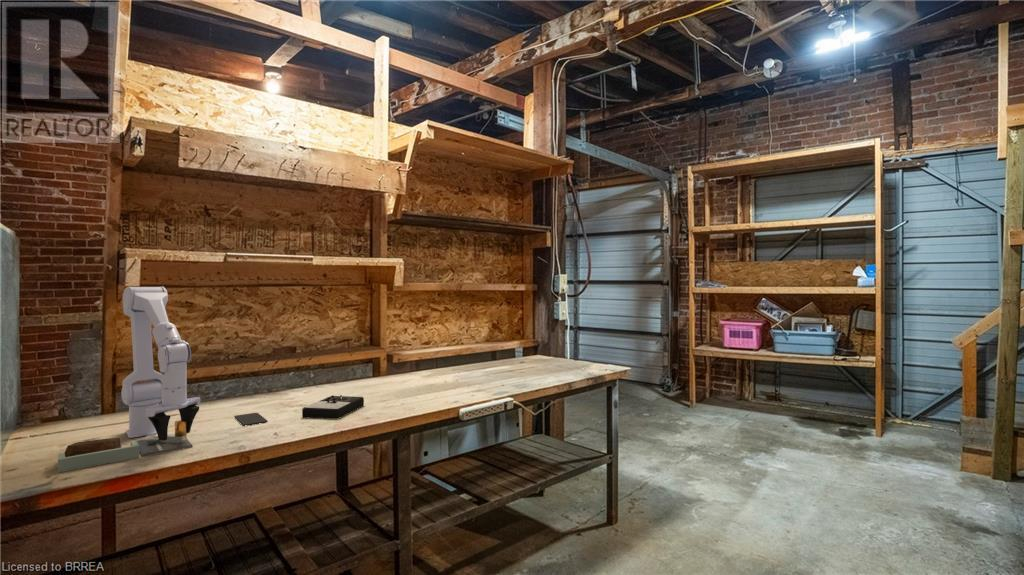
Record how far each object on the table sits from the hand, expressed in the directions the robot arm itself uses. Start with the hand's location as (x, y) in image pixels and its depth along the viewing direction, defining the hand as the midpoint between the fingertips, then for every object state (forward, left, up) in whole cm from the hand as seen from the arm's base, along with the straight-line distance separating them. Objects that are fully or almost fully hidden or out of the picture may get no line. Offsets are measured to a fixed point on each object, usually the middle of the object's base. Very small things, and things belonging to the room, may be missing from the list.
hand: (174, 436), depth 138 cm
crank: (-4, -1, -2) cm, 4 cm away
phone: (-16, +24, -3) cm, 28 cm away
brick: (-2, -17, -3) cm, 18 cm away
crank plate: (-3, -2, -3) cm, 5 cm away
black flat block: (-8, +49, -3) cm, 49 cm away
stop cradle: (+1, -16, -3) cm, 16 cm away
